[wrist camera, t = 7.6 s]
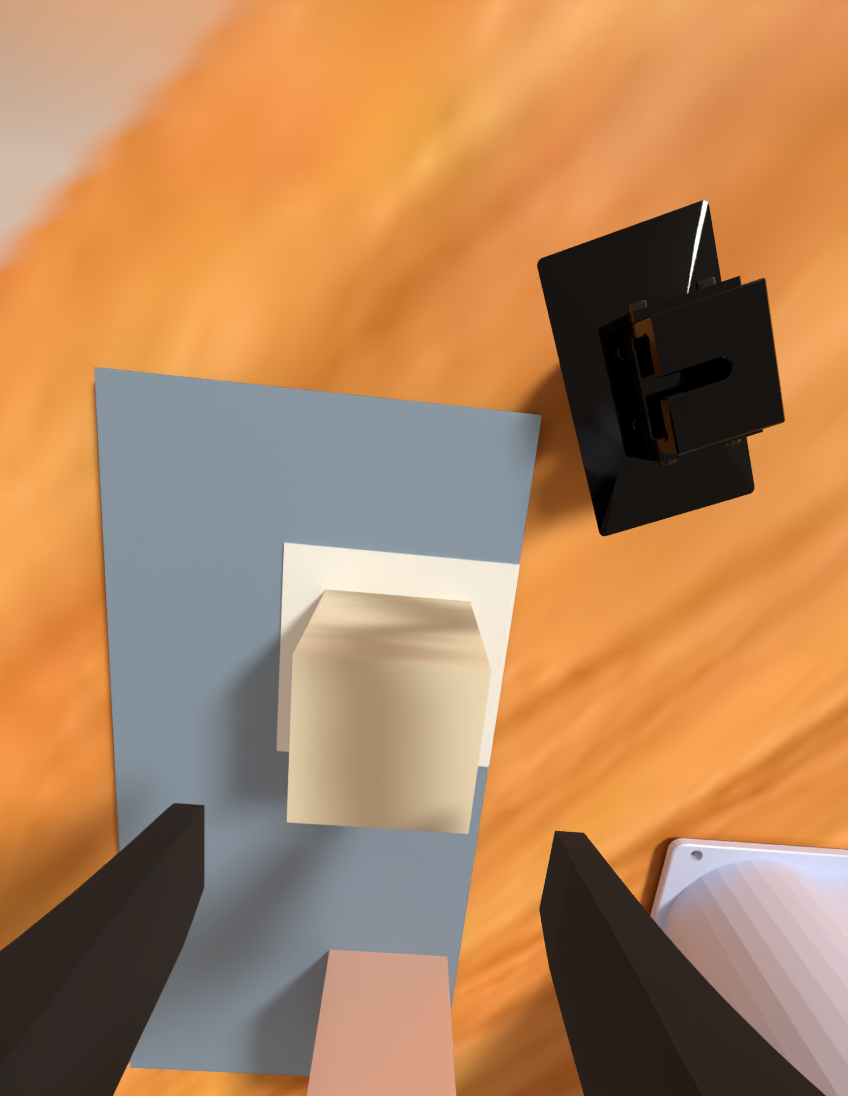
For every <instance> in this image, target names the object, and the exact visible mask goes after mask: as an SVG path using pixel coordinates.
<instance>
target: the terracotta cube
mask: <svg viewBox="0 0 848 1096" xmlns="http://www.w3.org/2000/svg"><path fill="white" fill-rule="evenodd" d="M307 1096H456V1086H455V1070H454V1054H453V1038H452V1022H451V1007H450V991H449V975H448V959H447V956H431V955H414V954H396V953H379V952H362V951H345V950H329V957H328V963H327V970H326V976H325V982H324V989H323V995H322V1001H321V1008H320V1014H319V1021H318V1027H317V1033H316V1040H315V1046H314V1052H313V1059H312V1065H311V1071H310V1078H309V1084H308V1091H307Z"/></svg>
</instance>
